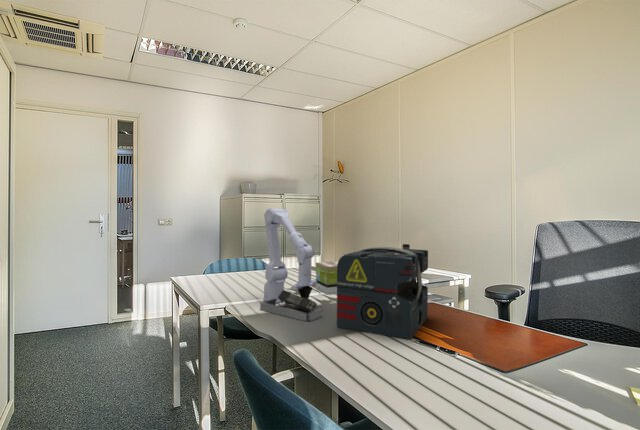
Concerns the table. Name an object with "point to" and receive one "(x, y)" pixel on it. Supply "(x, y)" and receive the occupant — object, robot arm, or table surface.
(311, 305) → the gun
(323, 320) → the table surface
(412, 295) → the power unit
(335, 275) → the tea box
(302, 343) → the table surface
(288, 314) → the slate box
